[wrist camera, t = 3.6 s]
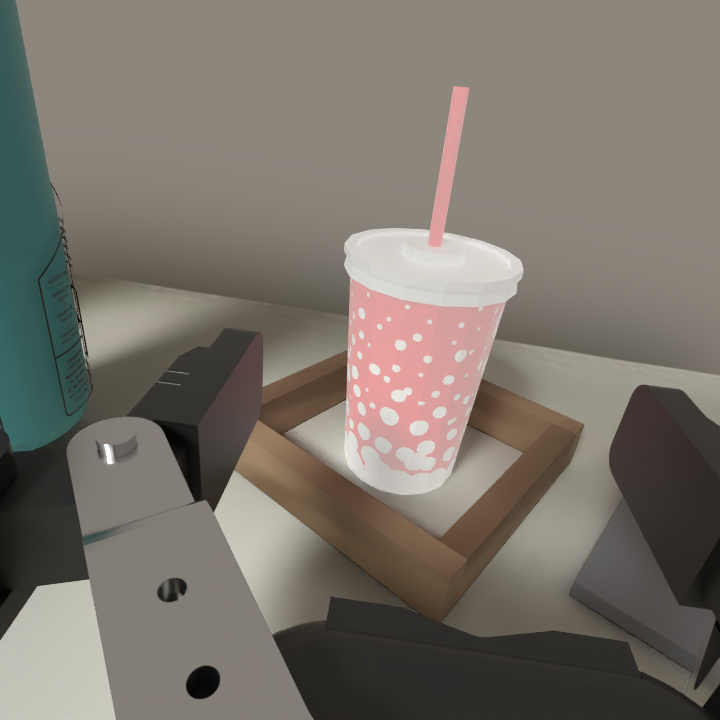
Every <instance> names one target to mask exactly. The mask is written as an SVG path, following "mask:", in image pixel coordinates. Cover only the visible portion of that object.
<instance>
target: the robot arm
mask: <svg viewBox="0 0 720 720" xmlns="http://www.w3.org/2000/svg"><path fill="white" fill-rule="evenodd" d="M262 379H263V338H262V334H261V333H260V332H254V331H246V330H239V329H231V328H226V329H224V331H223V332H222V333H221V334H220V336H219V337H218V338H217V339H216V341H215V342H214V343H213V344H212V346H211V347H210V348H206V347H197V348H195V349H193V350H191V351H189V352H187V353H185V354H183V355H181V356H179V357H178V359H177V360H176V361H175V362H174V363H173V364H172V365H171V366H170V368H169V369H168V372H165V373H164V374H163V375H162V377H161V378H160V379H159V380H158V383H155V385H154V386H153V387H152V388H151V389H150V390H149V391H148V392H147V394H146V395H145V396H144V397H143V398H142V399H141V400H140V402H139V403H138V404H137V405H136V406H135V407H134V408H133V409H132V411H131V412H130V413H129V414H128V415H127V416H126V417H117V418H111V419H106V420H102V421H99V422H97V423H94V424H92V425H90V426H87V427H86V428H84V429H82V430H81V431H79V432H78V433H77V434H76V435H75V436H74V437H73V438H72V439H71V440H70V442H69V444H68V446H67V448H59V449H45V450H31V451H17V452H13V449H12V446H11V442H10V438H9V436H8V434H7V433H6V432H5V431H4V430H2V429H0V640H1V639H2V637H3V636H4V634H5V633H6V631H7V630H8V628H9V627H10V625H11V624H12V622H13V621H14V620H15V618H16V617H17V615H18V614H19V612H20V611H21V609H22V608H23V606H24V605H25V603H26V602H27V600H28V599H29V598H30V596H31V595H32V593H33V592H34V590H35V589H36V587H37V586H42V585H49V584H57V583H64V582H72V581H80V580H87V579H90V584H91V589H92V595H93V600H94V605H95V610H96V616H97V621H98V626H99V631H100V637H101V642H102V647H103V653H104V658H105V663H106V668H107V674H108V679H109V684H110V689H111V695H112V700H113V705H114V711H115V716H116V720H720V426H719V425H717V424H716V423H714V422H713V421H711V420H710V419H708V418H707V417H706V416H705V415H704V414H703V413H702V412H701V411H700V409H699V408H698V407H697V406H696V405H695V404H694V403H693V402H692V400H691V399H690V398H689V397H688V396H687V395H686V394H685V393H684V392H683V391H682V390H679V389H673V388H665V387H658V386H650V385H640V386H638V387H637V388H636V389H635V390H634V392H633V394H632V396H631V398H630V401H629V403H628V405H627V408H626V410H625V413H624V415H623V418H622V420H621V422H620V425H619V427H618V430H617V432H616V434H615V437H614V439H613V442H612V444H611V448H610V454H609V464H610V469H611V472H612V475H613V477H614V479H615V481H616V483H617V485H618V487H619V489H620V490H621V492H622V494H623V496H624V498H625V500H626V502H627V504H628V506H629V508H630V510H631V512H632V514H633V516H634V518H635V520H636V522H637V524H638V526H639V528H640V530H641V532H642V534H643V536H644V538H645V540H646V541H647V543H648V545H649V547H650V549H651V551H652V553H653V555H654V557H655V559H656V561H657V563H658V565H659V567H660V569H661V571H662V573H663V575H664V577H665V579H666V581H667V583H668V585H669V587H670V589H671V591H672V593H673V594H674V596H675V598H676V600H677V602H678V604H679V605H681V606H688V607H694V608H701V609H708V610H712V612H713V613H714V615H715V617H714V619H713V620H712V622H711V623H710V625H709V626H708V628H707V630H706V632H705V635H704V638H703V641H702V644H701V647H700V650H699V652H698V655H697V658H696V661H695V664H694V667H693V670H692V673H691V676H690V679H689V682H688V685H687V688H686V691H685V694H682V693H681V692H679V691H677V690H676V689H674V688H672V687H671V686H669V685H667V684H666V683H664V682H662V681H660V680H657V679H655V678H653V677H651V676H649V675H647V674H645V673H643V672H640V671H639V670H638V668H637V665H636V662H635V660H634V657H633V655H632V652H631V649H630V647H629V644H628V642H624V641H618V640H611V639H604V638H598V637H591V636H585V635H578V634H572V633H565V632H559V631H546V632H536V633H526V634H517V635H507V636H497V637H477V636H473V635H471V634H468V633H465V632H463V631H460V630H458V629H455V628H453V627H450V626H448V625H445V624H443V623H440V622H438V621H435V620H432V619H430V618H427V617H425V616H422V615H420V614H417V613H415V612H412V611H410V610H407V609H405V608H401V607H395V606H388V605H382V604H375V603H368V602H362V601H355V600H349V599H342V598H336V597H331V599H330V605H329V611H328V617H327V620H325V621H315V622H310V623H305V624H301V625H296V626H293V627H290V628H288V629H285V630H282V631H279V632H277V633H275V634H273V635H272V634H271V632H270V630H269V628H268V626H267V624H266V622H265V620H264V618H263V615H262V613H261V611H260V609H259V607H258V605H257V603H256V601H255V599H254V597H253V595H252V592H251V590H250V588H249V586H248V584H247V582H246V580H245V578H244V576H243V574H242V572H241V569H240V567H239V565H238V563H237V561H236V559H235V557H234V555H233V553H232V551H231V548H230V546H229V544H228V542H227V540H226V538H225V536H224V534H223V532H222V530H221V528H220V525H219V523H218V521H217V519H216V517H215V515H214V511H215V509H216V507H217V504H218V502H219V500H220V498H221V496H222V494H223V492H224V490H225V488H226V486H227V483H228V481H229V479H230V477H231V475H232V473H233V471H234V469H235V467H236V465H237V463H238V460H239V458H240V456H241V454H242V452H243V450H244V448H245V446H246V444H247V442H248V439H249V437H250V435H251V433H252V431H253V429H254V427H255V425H256V423H257V420H258V417H259V413H260V409H261V403H262Z"/></svg>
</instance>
